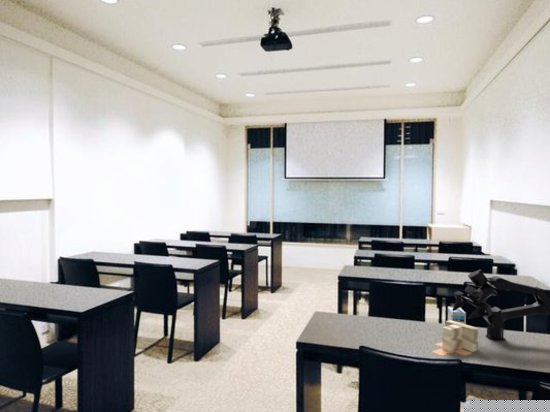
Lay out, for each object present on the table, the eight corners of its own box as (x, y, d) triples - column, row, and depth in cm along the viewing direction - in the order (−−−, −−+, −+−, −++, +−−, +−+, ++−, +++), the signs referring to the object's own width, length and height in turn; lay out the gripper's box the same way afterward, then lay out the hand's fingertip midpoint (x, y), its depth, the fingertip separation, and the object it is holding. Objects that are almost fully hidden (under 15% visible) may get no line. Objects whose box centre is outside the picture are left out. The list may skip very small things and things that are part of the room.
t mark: (441, 342, 185) (441, 342, 185) (472, 353, 172) (472, 353, 172) (421, 348, 178) (421, 347, 178) (452, 360, 165) (452, 359, 165)
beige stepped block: (450, 340, 187) (450, 320, 187) (478, 350, 175) (478, 328, 175) (432, 345, 181) (433, 324, 181) (460, 355, 169) (460, 332, 169)
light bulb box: (466, 333, 198) (466, 312, 197) (452, 332, 199) (452, 311, 199) (460, 326, 208) (460, 306, 208) (447, 326, 209) (447, 306, 209)
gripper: (461, 275, 196) (440, 294, 192) (495, 288, 179) (472, 309, 175) (468, 291, 200) (447, 310, 196) (501, 306, 183) (479, 327, 179)
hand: (460, 314), depth 187 cm, fingers open, 9 cm apart
